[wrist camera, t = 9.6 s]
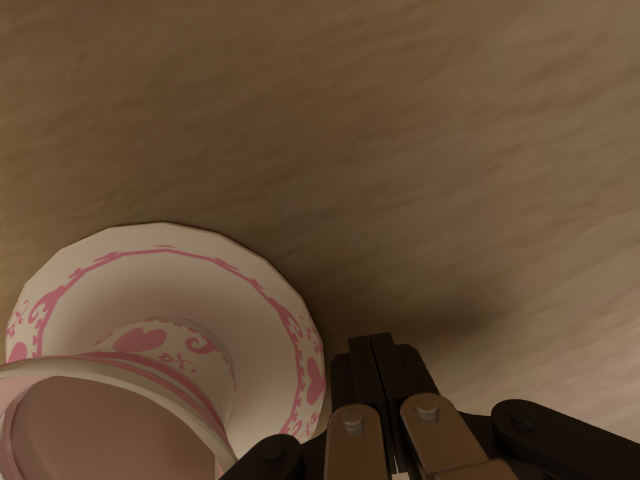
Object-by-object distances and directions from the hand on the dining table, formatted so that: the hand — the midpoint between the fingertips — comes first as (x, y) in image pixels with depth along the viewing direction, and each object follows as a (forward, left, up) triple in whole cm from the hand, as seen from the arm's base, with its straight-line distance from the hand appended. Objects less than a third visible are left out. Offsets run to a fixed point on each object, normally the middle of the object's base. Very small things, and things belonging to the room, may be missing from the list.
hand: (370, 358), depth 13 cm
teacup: (0, -8, -2) cm, 8 cm away
